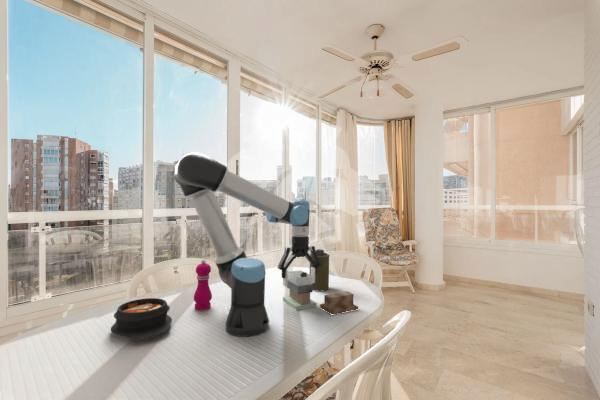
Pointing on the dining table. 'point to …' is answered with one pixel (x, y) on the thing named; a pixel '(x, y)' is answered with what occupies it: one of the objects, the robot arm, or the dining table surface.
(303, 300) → the stand
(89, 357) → the dining table surface
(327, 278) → the canister
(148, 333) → the casserole
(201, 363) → the dining table surface
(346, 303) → the stand
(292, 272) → the cover plate
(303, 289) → the base plate
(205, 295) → the pepper mill
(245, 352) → the dining table surface
